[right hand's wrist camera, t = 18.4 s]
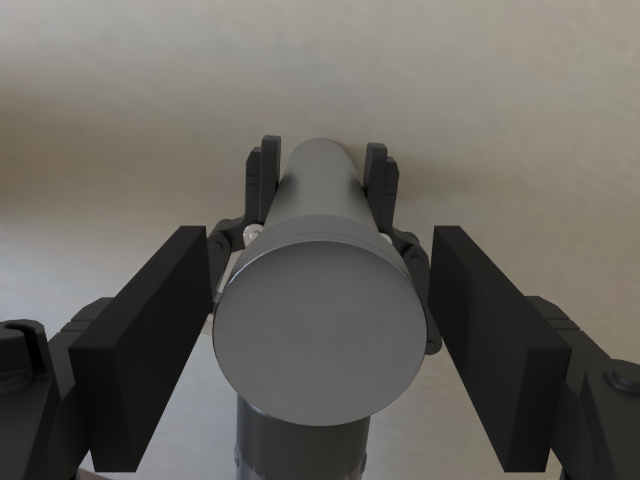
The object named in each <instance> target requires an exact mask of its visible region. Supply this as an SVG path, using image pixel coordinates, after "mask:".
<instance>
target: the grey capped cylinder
mask: <svg viewBox="0 0 640 480" xmlns="http://www.w3.org/2000/svg"><path fill="white" fill-rule="evenodd" d="M314 214H323V215H335V216H341V217H345V218H349V219H352V220H355V221H358V222H360V223H362V224H365V225H367V226H368V227H370V228H372V229H373V230H375V231H377V232H378V229H377V226H376V224H375V221H374V218H373V216H372V213H371V210H370V208H369V205H368V202H367V200H366V197H365V194H364V192H363V189H362V186H361V184H360V181H359V178H358V176H357V173H356V170H355V168H354V165H353V162H352V160H351V157H350V156H349V154H348V152H347V151H346V150H345V149H344V148H343V147H342V146H341V145H339V144H338V143H336V142H334V141H332V140H328V139H322V138H319V139H311V140H308V141H306V142H304V143H302V144H301V145H299V146H298V147H297V148H296V149H295V150H294V151H293V153H292V154H291V156H290V158H289V160H288V162H287V165H286V168H285V170H284V173H283V176H282V179H281V181H280V184H279V187H278V189H277V192H276V195H275V197H274V200H273V203H272V205H271V208H270V211H269V213H268V216H267V219H266V221H265V224H264V227H263V229H262V232H264V231H265V230H266V229H268V228H270V227H272V226H274V225H276V224H278V223H280V222H283V221H285V220H288V219H291V218H295V217H299V216H305V215H314ZM262 232H261V233H262ZM378 233H379V232H378Z"/></svg>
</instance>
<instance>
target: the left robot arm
mask: <svg viewBox="0 0 640 480" xmlns="http://www.w3.org/2000/svg"><path fill="white" fill-rule="evenodd" d="M280 154H281V136H272V135H266V136H265V137H264V138H263V139H262V145H261V147H255V148H254V149H253V150H252V151H251V152H250V155H249V157H248V159H247V162H246V193H245V215H244V216H242V217H240V218H237V219H233V220H229V219H224V220H221V221H220V222H218V224H217V225H216V227H215V228H214V229H213V231H212V232H211V234H210V235H209V237H208V238H207V246H208V257H209V268H210V279H211V290H212V300H213V306H212V309H211V311H210V313H209V315H208V317H207V319H206V322H205V324H204V326H203V328H202V330H201V332H200V333H204V334H207V335H210V336H212V327H213V318H214V313H215V309H216V306H217V303H218V301H219V299H220V296H221V294H222V293H220V292H218V289H219V287H220V284H221V281H222V278H223V276H224V273H225V270H226V267H227V264H228V262H229V259H230V256H231V253H232V252H235V251H239V250H243V249H245V248H246V247H247V246H248V244H249V243H250V242H252V241H253V240H254V239H255V238H256V237H257V236H258V235H260V234H261V232H262V229H263V227H264V224H265V221H266V219H267V216H268V213H269V211H270V208H271V205H272V203H273V200H274V197H275V195H276V192H277V189H278V187H279V176H280ZM398 179H399V171H398V167H397V163H396V162H395V160H394V159H393V158H392V157H387V148H386V147H385V145H384V144H380V143H368V145H367V151H366V159H365V168H364V177H363V186H362V189H363V192H364V194H365V197H366V200H367V202H368V205H369V208H370V210H371V213H372V216H373V218H374V221H375V224H376V226H377V229H378V232H379V234H381V235H382V236H383V237H384V238H386V239H387V240H388V241H389V242H390V243H391V244H392V245H393V247H394V248H395V249H396V250H397V252H398V253H399V254H400V256H401V257H402V259H403V261H404V263H405V265H406V267H407V269H408V271H409V273H410V276H411V278H412V280H413V282H414V284H415V287H416V289H417V291H418V293H419V296H420V298H421V300H422V303H423V306H424V309H425V312H426V317H427V323H428V340H427V348H426V352H425V355H433V354H436V353H437V352H439V351H440V349H441V347H442V339H441V334H440V332H439V330H438V328H437V326H436V324H435V322H434V319H433V317H432V315H431V313H430V311H429V309H428V306H427V300H428V290H429V279H430V266H429V260H428V256H427V254H426V252H425V250H424V249H423V248H422V247H421V245H420V243H419V240H418V239H417V237H416V236H415V235H414V234H413V233H411V232H402V231H400V230H397V229H395V228H394V227H393V226H392V222H393V215H394V208H395V200H396V193H397V185H398ZM199 335H200V334H199ZM370 417H371V415H370V416H368V417H365V418H363V419H360V420H357V421H353V422H350V423H345V424H340V425H332V426H308V425H300V424H295V423H291V422H286V421H283V420H280V419H278V418H275V417H272V416H270V415H268V414H266V413H264V412H262V411H260V410H259V409H257V408H256V407H254V406H252V405H251V404H250V403H249V402H247V401H246V400H245V399H244V398H242V397H241V396H240V395H239V394H238V393H237V442H236V445H235V450H234V454H235V463H236V473H237V480H361V479H362V473H363V472H364V469H365V464H366V458H367V453H366V445H367V438H368V431H369V424H370Z"/></svg>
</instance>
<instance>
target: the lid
mask: <svg viewBox="0 0 640 480" xmlns="http://www.w3.org/2000/svg"><path fill="white" fill-rule="evenodd" d="M212 338H213V346H214V351H215V355H216V358H217V361H218V363H219V366H220V368H221V370H222V372H223V374H224V376H225V377H226V379H227V380H228V382H229V383H230V384H231V386H232V387H233V388H234V389H235V390H236V392H237V393H238V394H239V395H240V396H241V397H242V398H244V399H245V400H246V401H247V402H249V403H250V404H251V405H252V406H254V407H256V408H257V409H259V410H260V411H262V412H264V413H266V414H268V415H270V416H272V417H275V418H278V419H280V420H283V421H286V422H291V423H295V424H300V425H308V426H332V425H340V424H345V423H350V422H353V421H357V420H360V419H363V418H365V417H368V416H370V415H372V414H374V413H376V412H378V411H380V410H381V409H383V408H385V407H386V406H388V405H389V404H390V403H392V402H393V401H394V400H396V399H397V398H398V397H399V396H400V395H401V394H402V393H403V392H404V391H405V390H406V388H407V387H408V386H409V385H410V383H411V382H412V381H413V379H414V377H415V376H416V374H417V373H418V371H419V368H420V366H421V364H422V362H423V359H424V355H425V352H426V348H427V340H428V323H427V317H426V312H425V309H424V306H423V303H422V300H421V298H420V296H419V293H418V291H417V289H416V287H415V284H414V282H413V280H412V278H411V276H410V273H409V271H408V269H407V267H406V265H405V263H404V261H403V259H402V257H401V256H400V254H399V253H398V252H397V250H396V249H395V248H394V247H393V245H392V244H391V243H390V242H389V241H388V240H387V239H386V238H384V237H383V236H382V235H381V234H379V233H378V232H377V231H375V230H373V229H372V228H370V227H368V226H367V225H365V224H362V223H360V222H358V221H355V220H352V219H349V218H345V217H341V216H335V215H323V214H314V215H305V216H299V217H295V218H291V219H288V220H285V221H283V222H280V223H278V224H276V225H274V226H272V227H270V228H268V229H266V230H265V231H264V232H262V233H261V234H260V235H258V236H257V237H256V238H255V239H254V240H253V241H252V242H250V243H249V244H248V246H247V247H246V248H245V249H244V251H243V252H242V253H241V254H240V256H239V258H238V260H237V261H236V263H235V265H234V267H233V269H232V272H231V274H230V276H229V278H228V280H227V283H226V285H225V287H224V289H223V292H222V294H221V296H220V299H219V301H218V303H217V306H216V309H215V313H214V318H213V327H212Z"/></svg>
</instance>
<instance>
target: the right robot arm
mask: <svg viewBox="0 0 640 480" xmlns="http://www.w3.org/2000/svg"><path fill="white" fill-rule="evenodd" d="M212 306H213V300H212V290H211V279H210V268H209V257H208V246H207V235H206V226H180V227H179V228H178V229H177V230H176V232H175V233H174V234H173V235H172V236H171V237H170V238H169V239H168V240H167V241H166V242H165V243H164V244H163V246H162V247H161V248H160V249H159V250H158V251H157V252H156V253H155V254H154V255H153V256H152V257H151V259H150V260H149V261H148V262H147V263H146V264H145V265H144V266H143V267H142V268H141V269H140V270H139V272H138V273H137V274H136V275H135V276H134V277H133V278H132V279H131V280H130V281H129V282H128V283H127V284H126V286H125V287H124V288H123V289H122V290H121V291H120V292H119V293H118V294H117V295H116V296H115V297H102V298H100V299H98V300H96V301H94V302H93V303H91V304H89V305H87V306H85V307H83V308H82V309H81V310H80V311H79V312H78V313H77V314H76V315H75V316H74V317H73V318H72V319H71V322H68V323H67V324H66V325H65V326H64V327H63V328H62V329H61V331H60V332H58V333H57V334H56V335H55V336H54V337H53V338H52V339H51V340H50V341H49V342H47V338H46V334H45V329H44V325H42V324H41V323H39V322H37V321H34V320H26V319H20V320H8V321H3V322H0V480H80V475H79V471H78V467H79V466H80V464H81V462H82V461H83V459H84V457H85V456H86V454H87V453H88V451H89V449H90V452H91V456H92V461H93V465H94V470H95V472H136V470H137V468H138V466H139V463H140V461H141V459H142V457H143V455H144V453H145V450H146V448H147V446H148V444H149V442H150V440H151V438H152V435H153V433H154V431H155V429H156V427H157V425H158V423H159V420H160V418H161V416H162V414H163V412H164V410H165V408H166V405H167V403H168V401H169V399H170V397H171V395H172V392H173V390H174V388H175V386H176V384H177V382H178V380H179V377H180V375H181V373H182V371H183V369H184V367H185V365H186V362H187V360H188V358H189V356H190V354H191V352H192V349H193V347H194V345H195V343H196V341H197V339H198V337H199V334H200V332H201V330H202V328H203V326H204V324H205V322H206V319H207V317H208V315H209V313H210V311H211V309H212ZM427 306H428V309H429V311H430V313H431V315H432V317H433V319H434V322H435V324H436V326H437V328H438V330H439V332H440V334H441V337H442V339H443V341H444V343H445V345H446V347H447V349H448V352H449V354H450V356H451V358H452V360H453V362H454V365H455V367H456V369H457V371H458V373H459V375H460V377H461V380H462V382H463V384H464V386H465V388H466V390H467V392H468V395H469V397H470V399H471V401H472V403H473V405H474V408H475V410H476V412H477V414H478V416H479V418H480V420H481V423H482V425H483V427H484V429H485V431H486V433H487V435H488V438H489V440H490V442H491V444H492V446H493V448H494V450H495V453H496V455H497V457H498V459H499V461H500V463H501V466H502V468H503V470H504V472H545V470H546V465H547V461H548V456H549V452H550V447H551V449H552V450H553V452H554V453H555V455H556V457H557V458H558V460H559V461H560V463H561V465H562V466H563V467H562V471H561V475H560V479H559V480H640V365H639V364H635V363H631V362H627V361H624V360H618V359H611V358H610V357H609V356H608V355H607V354H606V353H605V352H604V351H603V350H602V349H601V348H600V347H599V346H598V345H597V344H596V343H595V342H594V341H593V340H592V339H591V338H590V337H589V336H588V335H586V334H585V333H584V332H583V331H580V328H579V327H578V326H577V325H576V324H575V323H574V322H573V321H572V320H570V318H569V317H568V316H567V315H566V314H565V313H564V312H563V311H562V310H561V309H560V308H559V307H558V306H556V305H554V304H552V303H551V302H549V301H547V300H545V299H543V298H541V297H539V296H524V295H523V294H522V293H521V292H520V291H519V290H518V289H517V288H516V287H515V286H514V284H513V283H512V282H511V281H510V280H509V279H508V278H507V277H506V276H505V275H504V274H503V273H502V272H501V270H500V269H499V268H498V267H497V266H496V265H495V264H494V263H493V262H492V261H491V260H490V259H489V257H488V256H487V255H486V254H485V253H484V252H483V251H482V250H481V249H480V248H479V247H478V246H477V244H476V243H475V242H474V241H473V240H472V239H471V238H470V237H469V236H468V235H467V234H466V233H465V232H464V230H463V229H462V228H461V227H460V226H434V235H433V246H432V257H431V268H430V279H429V290H428V300H427Z"/></svg>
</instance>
